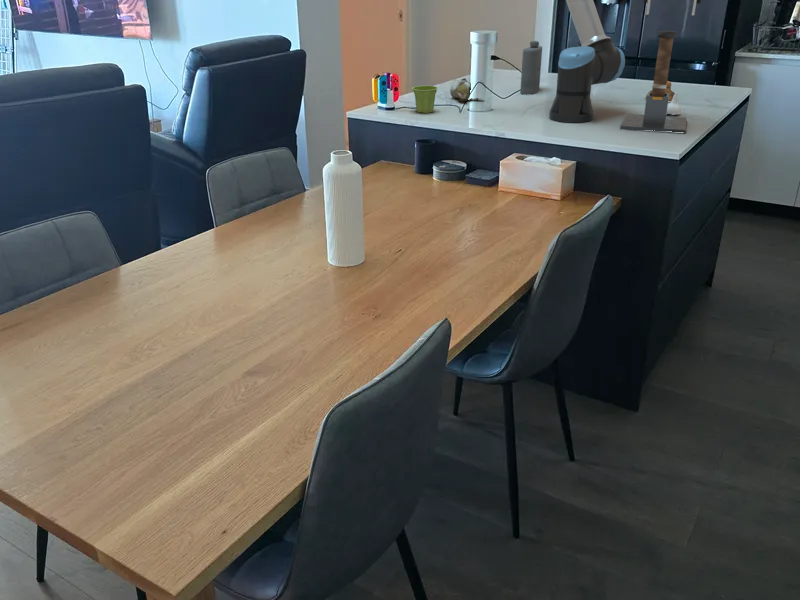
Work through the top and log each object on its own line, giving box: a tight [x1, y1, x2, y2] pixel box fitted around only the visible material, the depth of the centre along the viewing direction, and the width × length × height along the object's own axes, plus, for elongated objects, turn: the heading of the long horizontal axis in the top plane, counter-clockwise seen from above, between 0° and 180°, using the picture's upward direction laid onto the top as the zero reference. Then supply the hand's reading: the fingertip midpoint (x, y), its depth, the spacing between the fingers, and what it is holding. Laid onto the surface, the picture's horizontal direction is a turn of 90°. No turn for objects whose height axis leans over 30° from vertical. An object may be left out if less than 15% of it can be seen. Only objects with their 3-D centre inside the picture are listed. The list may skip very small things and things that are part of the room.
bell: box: [645, 80, 675, 101], centre depth 272 cm, size 12×12×7 cm
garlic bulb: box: [666, 91, 682, 115], centre depth 248 cm, size 6×6×8 cm
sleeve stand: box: [619, 91, 688, 133], centre depth 233 cm, size 20×20×10 cm
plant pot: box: [411, 85, 439, 114], centre depth 258 cm, size 9×9×9 cm
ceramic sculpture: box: [449, 78, 471, 102], centre depth 277 cm, size 11×9×15 cm
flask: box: [519, 40, 543, 96], centre depth 288 cm, size 15×6×20 cm, turn 155°
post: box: [651, 30, 678, 96], centre depth 227 cm, size 6×6×22 cm
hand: (669, 14), depth 220 cm, fingers open, 13 cm apart
